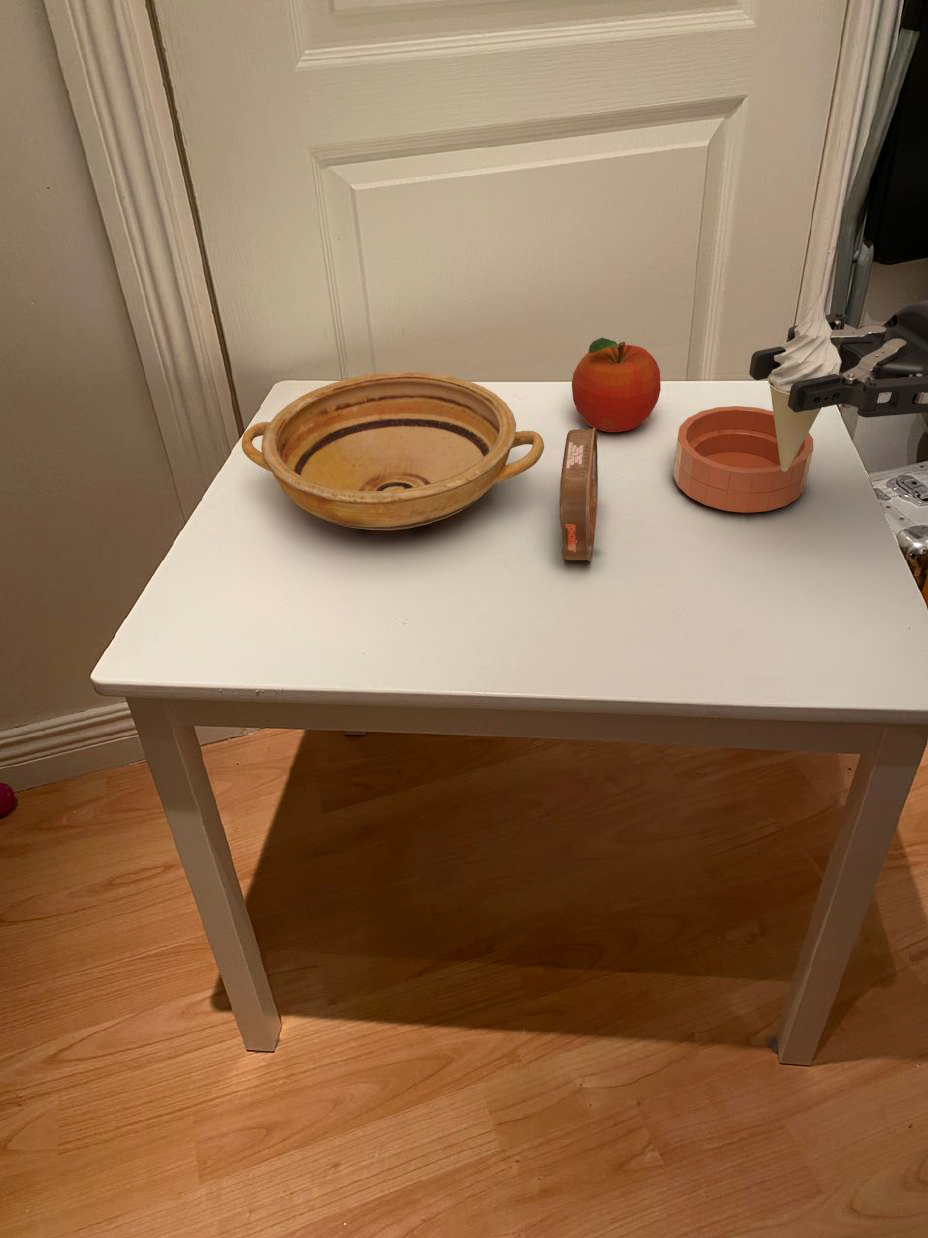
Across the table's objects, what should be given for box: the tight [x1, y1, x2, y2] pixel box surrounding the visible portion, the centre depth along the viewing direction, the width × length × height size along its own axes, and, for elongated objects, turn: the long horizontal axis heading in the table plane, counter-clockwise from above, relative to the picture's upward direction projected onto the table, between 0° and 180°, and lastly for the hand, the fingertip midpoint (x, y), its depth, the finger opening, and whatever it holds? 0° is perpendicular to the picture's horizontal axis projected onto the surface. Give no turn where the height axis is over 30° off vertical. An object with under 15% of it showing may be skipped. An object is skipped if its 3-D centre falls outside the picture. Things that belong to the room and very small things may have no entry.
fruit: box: [571, 337, 662, 433], centre depth 100 cm, size 10×10×10 cm
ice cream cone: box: [767, 293, 842, 472], centre depth 73 cm, size 5×5×15 cm
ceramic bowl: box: [241, 371, 545, 531], centre depth 91 cm, size 30×24×8 cm
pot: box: [672, 405, 814, 514], centre depth 92 cm, size 13×13×5 cm
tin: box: [558, 427, 599, 562], centre depth 86 cm, size 15×3×8 cm, turn 171°
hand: (772, 381), depth 72 cm, fingers closed on ice cream cone, 5 cm apart
